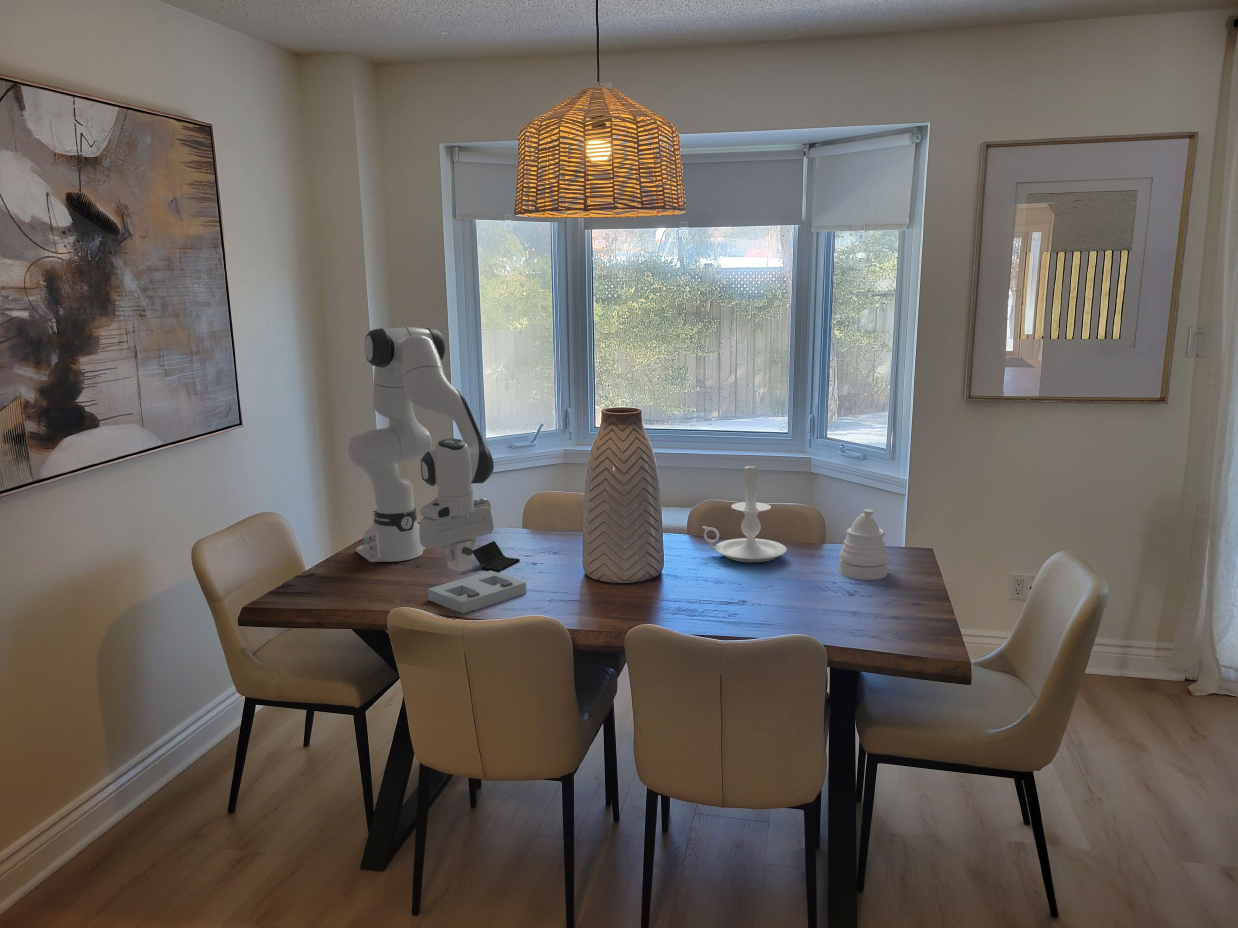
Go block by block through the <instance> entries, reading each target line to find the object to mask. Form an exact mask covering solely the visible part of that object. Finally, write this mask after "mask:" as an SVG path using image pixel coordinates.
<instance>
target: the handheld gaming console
mask: <svg viewBox="0 0 1238 928" xmlns="http://www.w3.org/2000/svg"><path fill="white" fill-rule="evenodd" d="M472 550H473V554H472V555H473V556H474V557H475V558H476V561H478V563H479V565H480V566H481V570H482V571H488V570H489V571H490V570H491V571H494V572H497V573H500V572H503V571H504V570H506V569H508V568H511V567H513V566H514V565H516V564H518V563H520V562H521V559H520V558H513V557H507V556H505V555H504V553H503V551H502V550H501V549H500V547H499V545H498V544H497V543H496V541H494V540H493V541H490V542H488V543H486V544H484V545H482V546H479V547H477V548H475V549H472Z"/></svg>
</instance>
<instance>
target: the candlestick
mask: <svg viewBox="0 0 1238 928" xmlns="http://www.w3.org/2000/svg"><path fill="white" fill-rule="evenodd" d="M748 464H749V466H744V478H743V479H744V480H745V481H744V482H745V483H744V484H745V486H744V499H745V501H742V502H735V503H733V504H731V506H730V507H731V508H732V509H734V510H736V511H740V512H743V513H744V517H743V519H742V521H741V523H740V529H741V532H742V533H743V534H744V535H745V537H743V538H733V539H726V540H722V541H720V542H719V543H717V544H715V546H713V544H714V543H716V542H717V541H719V537H720V533H719V531H718V529H716V528H714V527H708V526H705V525H703V526H701V528H702V529H704V532H703V538H704V540H705V541H706V542H707V543H708V546H709V548H710V549H712V550H715V551H716V552H717V553H718V554H721V555H723V556H724V557H726V558H728V559H730V560H732V561H733V560H734V561H736V562H740V563H751V564H752V563H756V564H757V563H765V562H769V561H772V560H774V559H776V558H777V557H780V556H782V555H784V554H785V553H786V552H787V547H786V546H785V545H784V544H782V543H780V542H778V541H774V540H770V539H762V538H755V537H756V536H758V535H759V533H760V532H761V529H762V528H761V527H762V526H761V522H760V519H759V518H758V514H759V513H761V512H766V511H768V510H770V509H772V505H770V504H767V503H764V502H759V501H758V502H757V491H758V478H759V477H758V475H759V474H758V472H759V471H758V470H759V466H752V465H750V463H748ZM709 531H712V532H714V533H715V535H716V537H715V538H714V539H713V540H712V539H709V538H708V536H707V533H708V532H709Z"/></svg>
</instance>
